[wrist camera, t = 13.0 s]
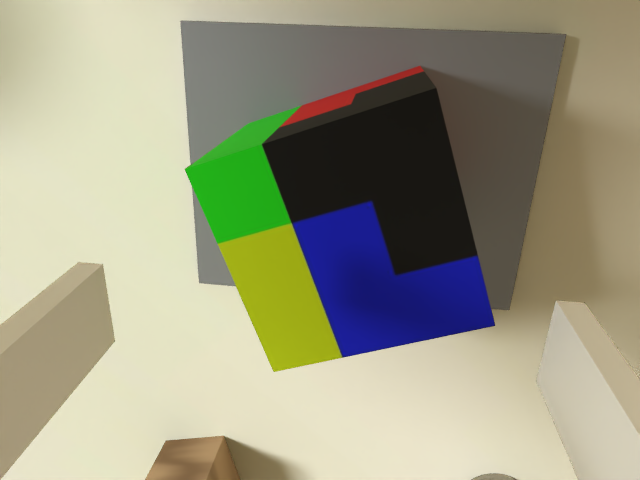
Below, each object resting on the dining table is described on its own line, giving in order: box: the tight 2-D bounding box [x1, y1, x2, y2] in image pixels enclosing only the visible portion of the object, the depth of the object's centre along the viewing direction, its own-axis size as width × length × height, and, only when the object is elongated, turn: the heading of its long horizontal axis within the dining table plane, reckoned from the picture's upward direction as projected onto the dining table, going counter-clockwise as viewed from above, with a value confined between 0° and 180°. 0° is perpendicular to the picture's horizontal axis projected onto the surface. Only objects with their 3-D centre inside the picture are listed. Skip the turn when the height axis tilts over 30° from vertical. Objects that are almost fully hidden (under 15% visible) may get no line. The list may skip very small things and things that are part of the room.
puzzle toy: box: [185, 66, 495, 372], centre depth 25 cm, size 10×10×10 cm
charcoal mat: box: [181, 21, 566, 310], centre depth 30 cm, size 20×16×1 cm
